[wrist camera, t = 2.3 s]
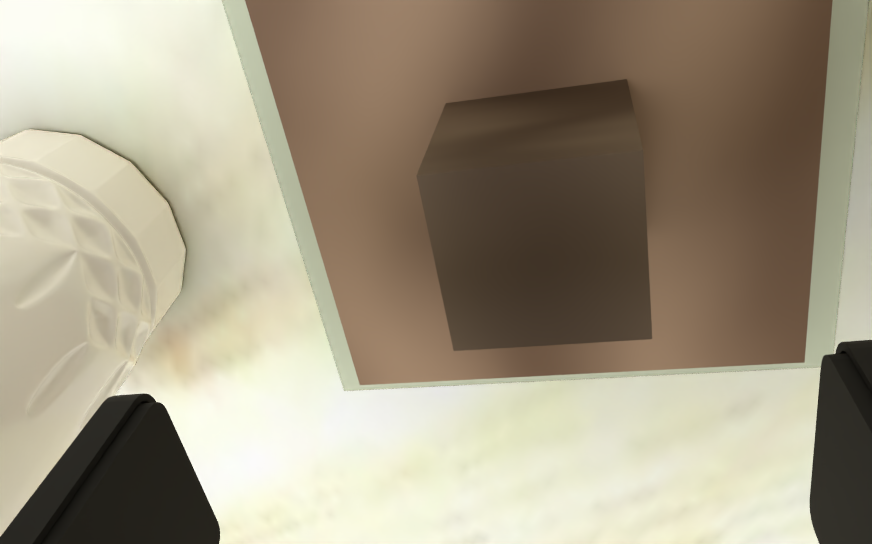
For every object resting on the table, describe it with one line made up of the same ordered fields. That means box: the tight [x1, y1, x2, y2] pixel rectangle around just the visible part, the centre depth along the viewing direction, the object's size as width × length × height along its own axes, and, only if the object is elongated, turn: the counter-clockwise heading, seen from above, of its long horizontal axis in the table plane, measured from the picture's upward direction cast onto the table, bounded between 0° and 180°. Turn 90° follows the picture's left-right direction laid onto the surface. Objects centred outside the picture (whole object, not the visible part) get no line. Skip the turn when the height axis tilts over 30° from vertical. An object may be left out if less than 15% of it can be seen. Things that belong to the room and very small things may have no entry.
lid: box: [245, 0, 833, 385], centre depth 16 cm, size 12×12×5 cm
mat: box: [222, 0, 869, 391], centre depth 19 cm, size 14×14×1 cm
